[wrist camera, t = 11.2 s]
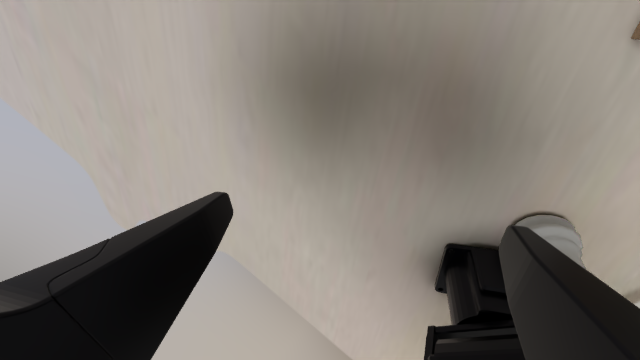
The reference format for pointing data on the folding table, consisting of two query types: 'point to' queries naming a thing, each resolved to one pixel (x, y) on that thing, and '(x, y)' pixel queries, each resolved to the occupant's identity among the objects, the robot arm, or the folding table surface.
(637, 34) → the walnut block
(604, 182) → the folding table surface
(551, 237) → the rook chess piece
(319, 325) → the folding table surface
